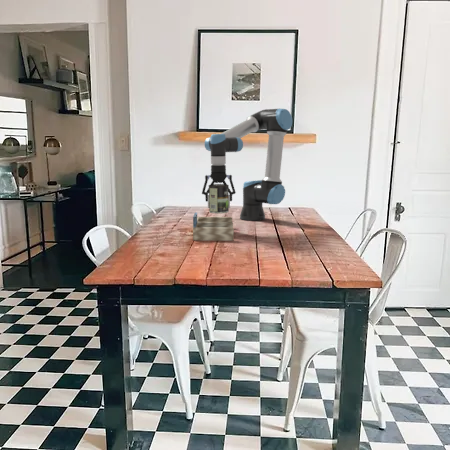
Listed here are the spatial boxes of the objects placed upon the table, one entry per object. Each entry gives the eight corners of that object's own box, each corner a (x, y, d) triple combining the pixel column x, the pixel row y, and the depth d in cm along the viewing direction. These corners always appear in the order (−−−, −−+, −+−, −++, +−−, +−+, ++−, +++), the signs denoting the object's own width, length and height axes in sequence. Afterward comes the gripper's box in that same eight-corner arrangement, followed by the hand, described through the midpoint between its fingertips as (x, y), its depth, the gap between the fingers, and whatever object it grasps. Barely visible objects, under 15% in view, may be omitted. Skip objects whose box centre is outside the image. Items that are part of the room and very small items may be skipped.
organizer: (232, 228, 254) (232, 207, 252) (233, 240, 223) (233, 217, 221) (196, 227, 253) (196, 207, 251) (193, 240, 222) (192, 217, 220)
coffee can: (230, 210, 248) (230, 184, 245) (226, 213, 238) (226, 186, 235) (211, 210, 250) (211, 183, 247) (207, 213, 240) (206, 186, 237)
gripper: (240, 163, 243) (240, 206, 247) (196, 164, 243) (197, 206, 247) (240, 164, 236) (240, 208, 240) (195, 165, 235) (196, 209, 240)
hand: (218, 207), depth 244 cm, fingers closed on coffee can, 10 cm apart
